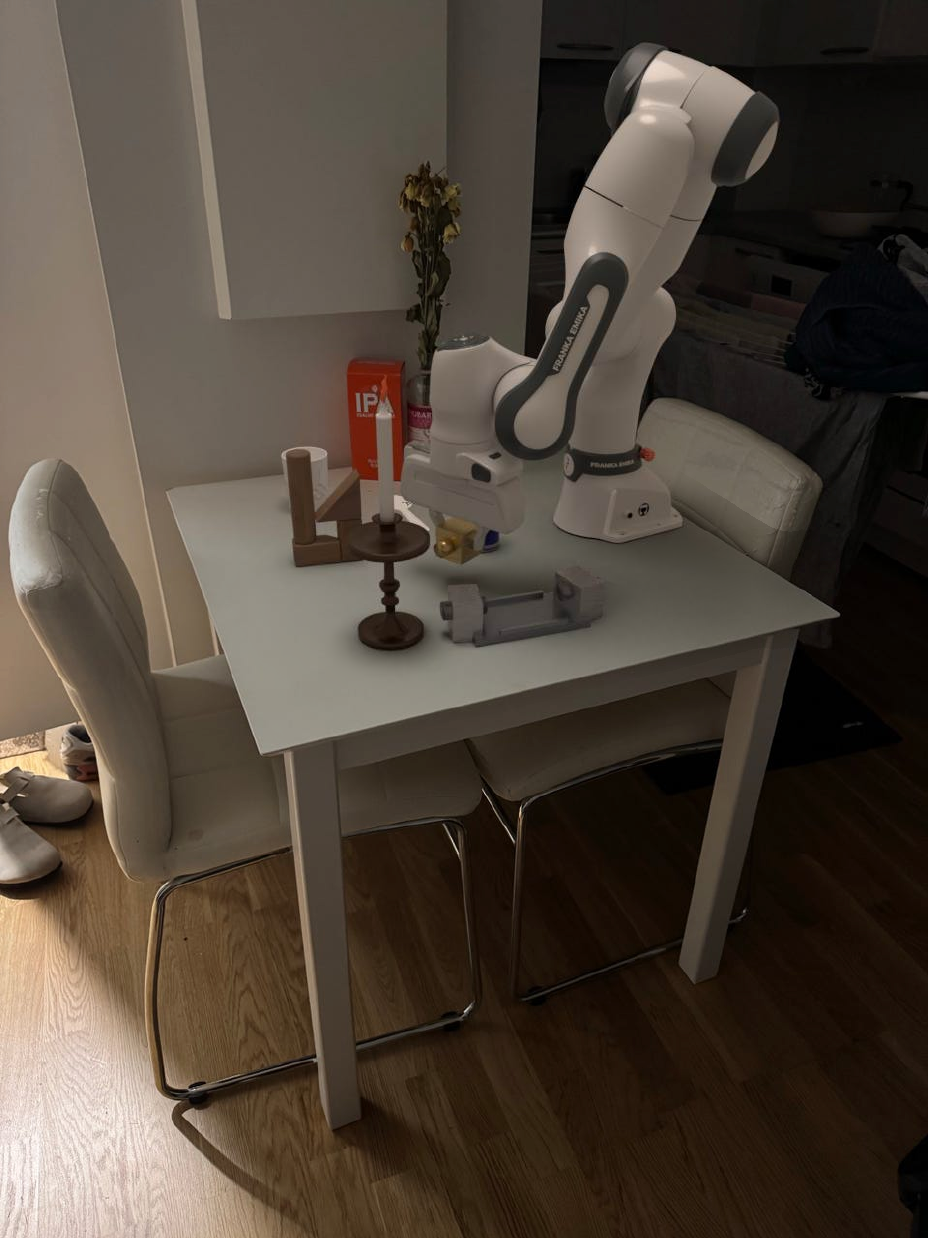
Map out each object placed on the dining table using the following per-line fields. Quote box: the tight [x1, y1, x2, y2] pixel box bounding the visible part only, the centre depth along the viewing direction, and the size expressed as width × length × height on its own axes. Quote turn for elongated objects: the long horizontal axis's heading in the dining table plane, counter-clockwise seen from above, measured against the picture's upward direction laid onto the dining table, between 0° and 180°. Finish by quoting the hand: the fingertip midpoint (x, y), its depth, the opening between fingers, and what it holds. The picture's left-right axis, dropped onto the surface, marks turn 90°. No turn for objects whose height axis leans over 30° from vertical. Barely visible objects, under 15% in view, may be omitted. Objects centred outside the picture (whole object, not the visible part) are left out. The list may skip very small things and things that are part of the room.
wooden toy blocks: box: [286, 449, 363, 567], centre depth 136 cm, size 4×11×18 cm, turn 106°
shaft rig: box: [439, 565, 605, 648], centre depth 122 cm, size 23×9×6 cm, turn 110°
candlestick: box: [346, 374, 431, 652], centre depth 112 cm, size 11×11×35 cm
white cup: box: [281, 446, 329, 512], centre depth 156 cm, size 8×8×10 cm
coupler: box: [433, 517, 482, 566], centre depth 130 cm, size 9×5×5 cm, turn 143°
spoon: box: [394, 494, 431, 533], centre depth 157 cm, size 5×18×1 cm, turn 24°
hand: (459, 542), depth 131 cm, fingers closed on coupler, 5 cm apart
